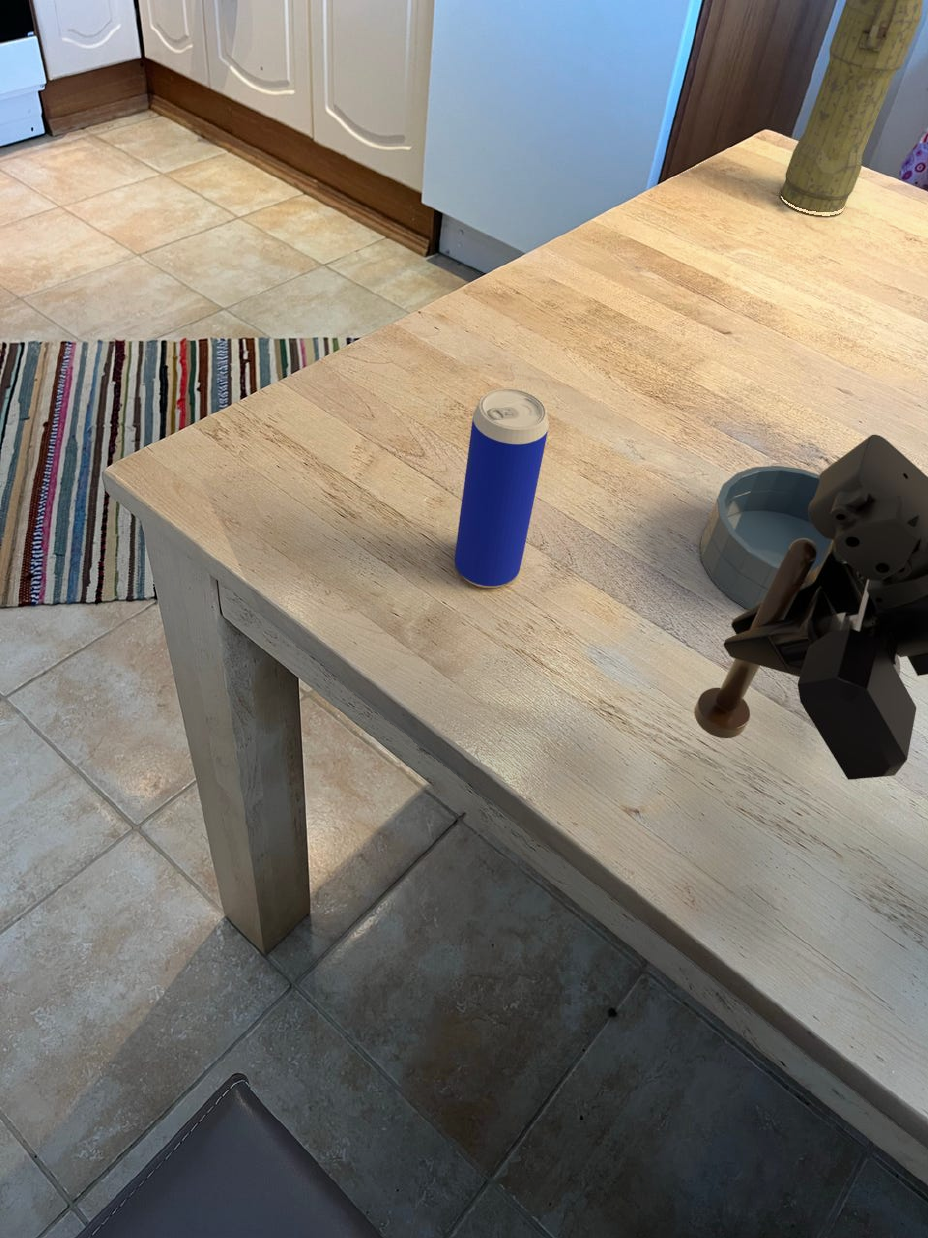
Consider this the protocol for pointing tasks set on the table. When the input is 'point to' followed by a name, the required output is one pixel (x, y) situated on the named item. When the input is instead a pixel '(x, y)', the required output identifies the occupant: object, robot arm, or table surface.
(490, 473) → the beverage can
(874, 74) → the olive tall cylinder
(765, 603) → the stirrer
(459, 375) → the table surface
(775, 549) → the bowl
